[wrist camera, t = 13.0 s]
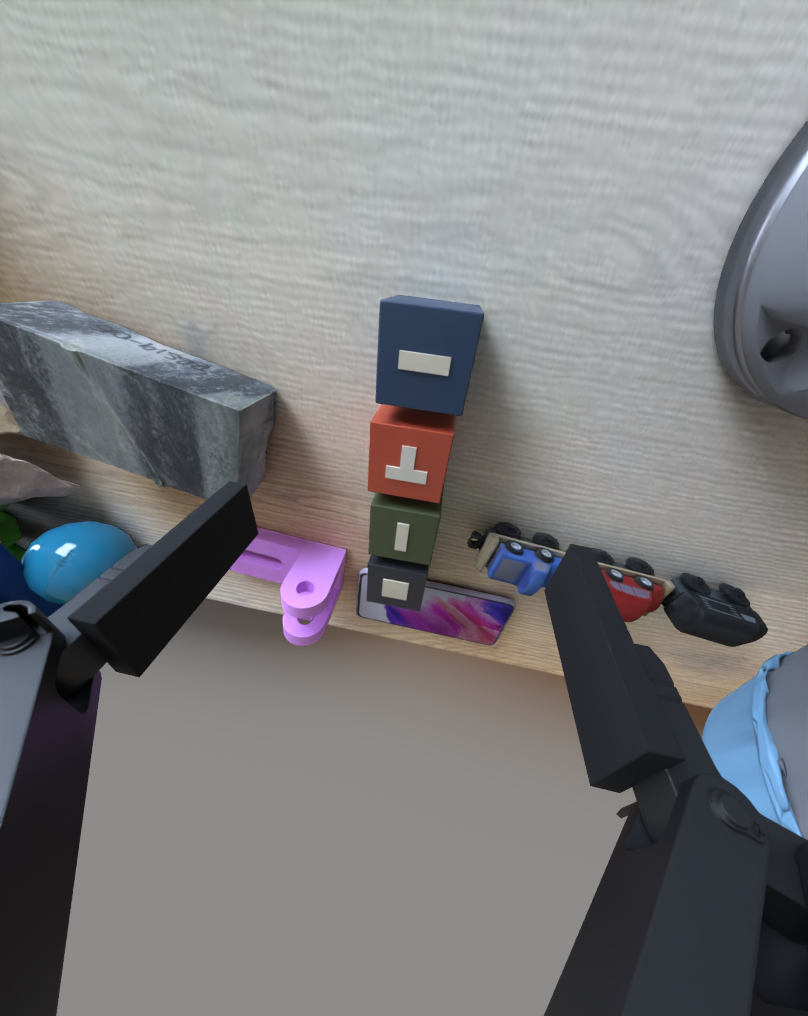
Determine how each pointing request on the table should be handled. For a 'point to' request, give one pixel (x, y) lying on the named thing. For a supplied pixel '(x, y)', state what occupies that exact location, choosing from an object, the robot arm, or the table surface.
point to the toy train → (624, 586)
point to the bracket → (297, 579)
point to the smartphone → (444, 612)
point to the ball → (72, 558)
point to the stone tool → (29, 482)
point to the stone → (7, 419)
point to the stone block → (132, 400)
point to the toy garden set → (10, 534)
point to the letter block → (409, 452)
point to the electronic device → (19, 584)
